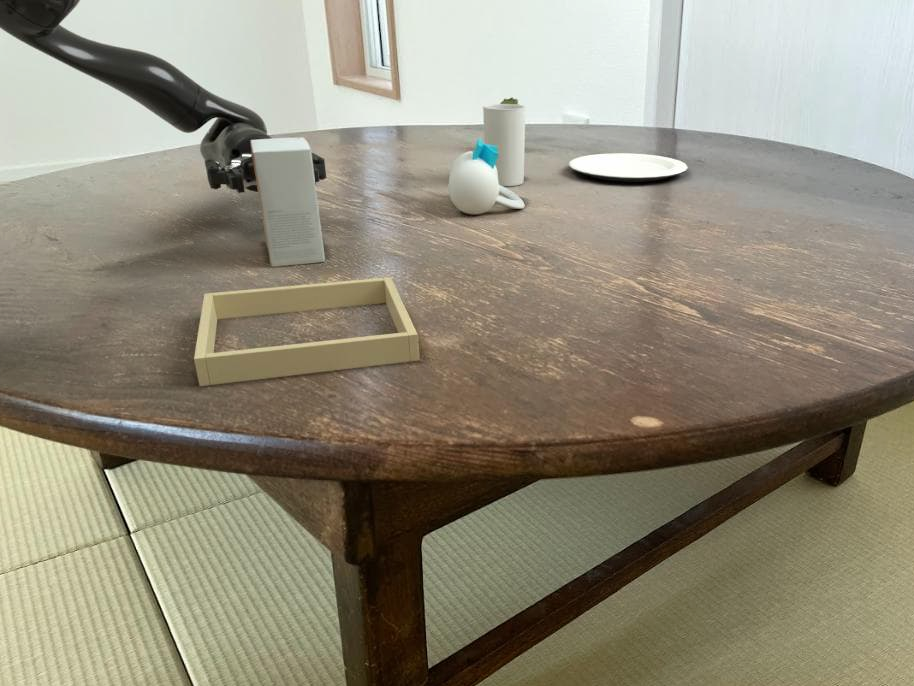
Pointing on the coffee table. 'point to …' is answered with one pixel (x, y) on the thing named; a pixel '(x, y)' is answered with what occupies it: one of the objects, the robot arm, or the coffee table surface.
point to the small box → (288, 200)
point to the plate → (628, 167)
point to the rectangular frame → (302, 355)
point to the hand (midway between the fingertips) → (277, 180)
